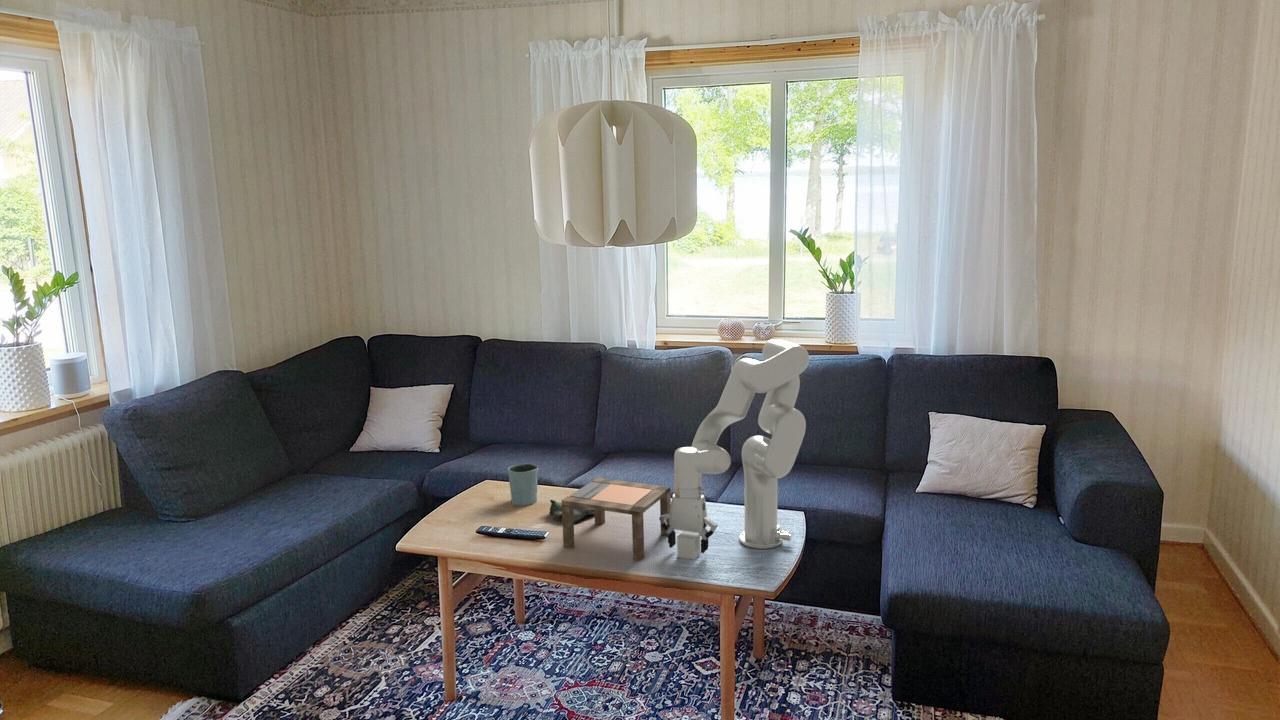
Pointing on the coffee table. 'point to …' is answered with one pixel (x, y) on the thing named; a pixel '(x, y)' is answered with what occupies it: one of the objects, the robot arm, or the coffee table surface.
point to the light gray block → (688, 545)
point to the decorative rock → (577, 514)
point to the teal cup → (523, 483)
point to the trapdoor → (610, 494)
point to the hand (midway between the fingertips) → (688, 548)
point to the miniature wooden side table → (636, 512)
